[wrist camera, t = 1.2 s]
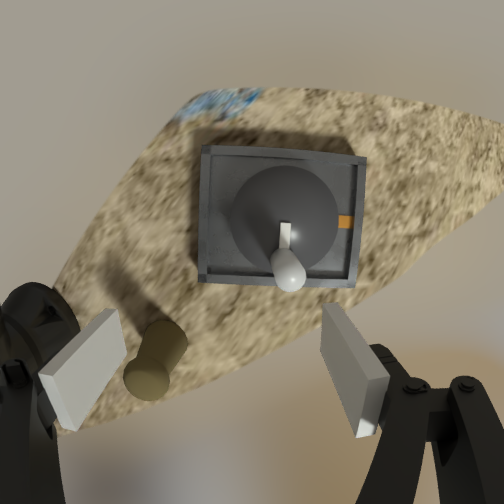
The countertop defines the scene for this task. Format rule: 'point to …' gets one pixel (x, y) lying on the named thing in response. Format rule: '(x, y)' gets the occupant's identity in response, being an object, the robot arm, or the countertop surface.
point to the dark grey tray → (232, 179)
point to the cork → (155, 360)
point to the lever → (284, 222)
